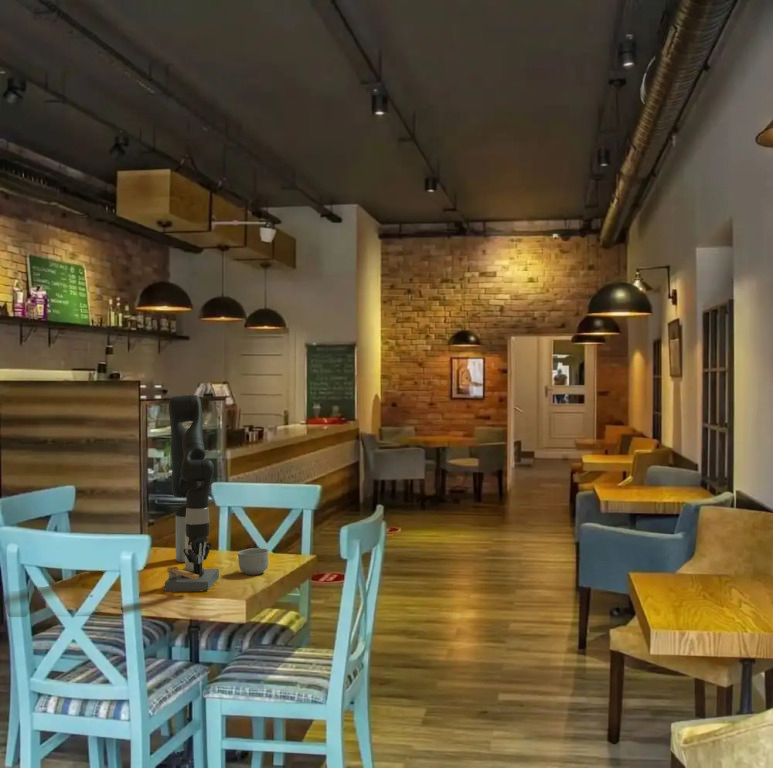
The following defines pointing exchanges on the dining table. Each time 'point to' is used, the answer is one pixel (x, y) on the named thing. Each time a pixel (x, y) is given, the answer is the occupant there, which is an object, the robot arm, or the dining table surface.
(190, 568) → the grey tall cylinder
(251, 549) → the teacup
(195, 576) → the clip
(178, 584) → the grey flat block
